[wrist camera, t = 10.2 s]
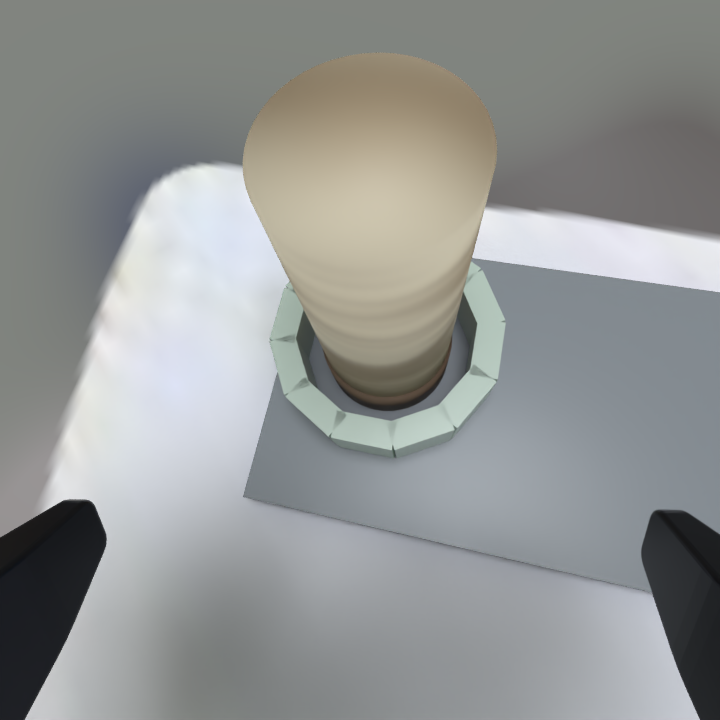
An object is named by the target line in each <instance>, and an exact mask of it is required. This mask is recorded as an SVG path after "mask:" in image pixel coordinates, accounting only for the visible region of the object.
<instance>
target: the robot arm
mask: <svg viewBox="0 0 720 720" xmlns="http://www.w3.org/2000/svg"><path fill="white" fill-rule="evenodd" d="M106 541H107V538H106V532H105V530H104V527H103V525H102V522H101V520H100V517H99V515H98V512H97V510H96V507H95V505H94V504H93V503H92V502H91V501H89V500H76V499H69V500H64V501H62V502H60V503H58V504H57V505H55V506H53V507H52V508H50V509H48V510H46V511H45V512H43V513H41V514H40V515H38V516H36V517H34V518H33V519H31V520H29V521H28V522H26V523H24V524H23V525H21V526H19V527H18V528H16V529H14V530H12V531H10V532H9V533H7V534H6V535H4V536H2V537H0V720H25V718H26V716H27V714H28V712H29V711H30V709H31V707H32V705H33V703H34V701H35V699H36V697H37V695H38V694H39V692H40V690H41V688H42V686H43V684H44V682H45V680H46V678H47V677H48V675H49V673H50V671H51V669H52V667H53V665H54V663H55V661H56V660H57V658H58V656H59V654H60V652H61V650H62V648H63V646H64V644H65V642H66V640H67V638H68V635H69V633H70V631H71V629H72V627H73V624H74V622H75V620H76V617H77V615H78V613H79V610H80V608H81V605H82V603H83V601H84V598H85V596H86V593H87V591H88V589H89V586H90V584H91V582H92V579H93V577H94V574H95V572H96V570H97V567H98V565H99V562H100V560H101V558H102V555H103V553H104V550H105V547H106ZM641 558H642V563H643V567H644V570H645V573H646V576H647V579H648V582H649V585H650V588H651V591H652V594H653V597H654V600H655V603H656V606H657V609H658V612H659V615H660V618H661V621H662V624H663V627H664V630H665V633H666V636H667V639H668V642H669V645H670V648H671V651H672V654H673V657H674V660H675V662H676V665H677V668H678V670H679V673H680V675H681V678H682V680H683V682H684V685H685V687H686V689H687V692H688V694H689V696H690V698H691V701H692V703H693V705H694V707H695V710H696V712H697V714H698V716H699V718H700V720H720V534H719V533H718V532H716V531H715V530H713V529H712V528H710V527H709V526H707V525H706V524H704V523H703V522H701V521H700V520H699V519H697V518H696V517H694V516H693V515H691V514H690V513H688V512H686V511H683V510H667V509H658V510H655V511H653V513H652V514H651V516H650V519H649V522H648V526H647V529H646V533H645V536H644V540H643V543H642V548H641Z"/></svg>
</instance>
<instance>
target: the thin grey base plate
mask: <svg viewBox="0 0 720 720" xmlns="http://www.w3.org/2000/svg"><path fill="white" fill-rule="evenodd" d="M286 287H287V288H284V291H283V294H282V298H281V301H280V305H279V308H278V312H277V315H276V319H275V322H274V325H273V329H272V332H271V336H270V340H271V341H270V345H271V349H272V352H273V356H274V360H275V363H276V367H277V371H278V372H277V376H276V379H275V383H274V387H273V390H272V394H271V398H270V401H269V405H268V408H267V412H266V416H265V419H264V423H263V426H262V430H261V434H260V437H259V441H258V445H257V448H256V452H255V455H254V459H253V463H252V466H251V470H250V473H249V477H248V481H247V484H246V488H245V492H244V495H243V497H246V498H250V499H255V500H259V501H263V502H268V503H272V504H276V505H280V506H285V507H289V508H293V509H297V510H302V511H306V512H310V513H315V514H319V515H323V516H327V517H332V518H336V519H340V520H344V521H349V522H353V523H357V524H361V525H366V526H370V527H374V528H379V529H383V530H387V531H391V532H396V533H400V534H404V535H408V536H413V537H417V538H421V539H426V540H430V541H434V542H438V543H443V544H447V545H451V546H455V547H460V548H464V549H468V550H472V551H477V552H481V553H485V554H490V555H494V556H498V557H502V558H507V559H511V560H515V561H519V562H524V563H528V564H532V565H537V566H541V567H545V568H549V569H554V570H558V571H562V572H566V573H571V574H575V575H579V576H583V577H588V578H592V579H596V580H601V581H605V582H609V583H613V584H618V585H622V586H626V587H630V588H635V589H639V590H643V591H648V592H652V591H651V588H650V585H649V582H648V579H647V576H646V573H645V570H644V567H643V563H642V558H641V548H642V543H643V540H644V536H645V533H646V529H647V526H648V522H649V519H650V516H651V514H652V513H653V511H655V510H658V509H667V510H683V511H686V512H688V513H690V514H691V515H693V516H694V517H696V518H697V519H699V520H700V521H701V522H703V523H704V524H706V525H707V526H709V527H710V528H712V529H713V530H715V531H716V532H718V533H719V534H720V292H713V291H706V290H698V289H691V288H684V287H677V286H669V285H662V284H655V283H648V282H640V281H633V280H626V279H619V278H612V277H604V276H597V275H590V274H583V273H575V272H568V271H561V270H554V269H546V268H539V267H532V266H525V265H518V264H510V263H503V262H496V261H489V260H481V259H474V258H472V259H471V263H470V267H469V271H468V275H467V279H466V283H465V287H464V290H463V294H462V298H461V302H460V306H459V310H458V314H457V318H456V322H455V325H454V329H453V333H452V348H451V352H450V356H449V359H448V363H447V367H446V370H445V373H444V376H443V378H442V380H441V382H440V383H439V385H438V386H437V388H436V389H435V390H434V391H433V392H432V393H431V394H430V395H429V396H428V397H427V398H426V399H424V400H423V401H421V402H420V403H418V404H416V405H414V406H411V407H409V408H406V409H402V410H396V411H380V410H374V409H370V408H367V407H365V406H362V405H360V404H359V403H357V402H355V401H354V400H352V399H351V398H350V397H348V396H347V395H346V394H345V393H344V392H343V391H342V389H341V388H340V387H339V385H338V384H337V382H336V380H335V378H334V376H333V374H332V372H331V370H330V368H329V366H328V364H327V362H326V359H325V357H324V352H323V348H322V346H321V344H320V342H319V340H318V338H317V336H316V334H315V332H314V330H313V328H312V325H311V323H310V321H309V319H308V317H307V315H306V313H305V311H304V309H303V307H302V305H301V303H300V301H299V299H298V297H297V295H296V293H295V291H294V289H293V287H292V285H291V282H289V283H288V284H287V285H286Z"/></svg>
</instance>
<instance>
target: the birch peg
mask: <svg viewBox="0 0 720 720" xmlns="http://www.w3.org/2000/svg"><path fill="white" fill-rule="evenodd" d="M496 144H497V143H496V135H495V131H494V126H493V123H492V120H491V118H490V116H489V113H488V111H487V109H486V108H485V106H484V104H483V103H482V101H481V99H480V98H479V97H478V96H477V95H476V93H475V92H474V91H473V90H472V89H471V88H470V87H469V86H468V85H467V84H466V83H464V81H462V80H461V79H460V78H459V77H457V76H456V75H454V74H453V73H451V72H450V71H448V70H446V69H444V68H442V67H440V66H438V65H436V64H434V63H431V62H428V61H426V60H423V59H420V58H416V57H412V56H407V55H401V54H394V53H364V54H357V55H350V56H345V57H341V58H337V59H334V60H330V61H328V62H325V63H322V64H320V65H317V66H315V67H313V68H311V69H309V70H307V71H305V72H303V73H302V74H300V75H298V76H297V77H295V78H294V79H292V80H290V81H289V82H288V83H287V84H285V85H284V86H283V87H282V88H280V89H279V90H278V91H277V92H276V94H274V95H273V96H272V97H271V98H270V99H269V100H268V102H267V103H266V104H265V105H264V107H263V108H262V109H261V111H260V112H259V114H258V116H257V117H256V119H255V121H254V122H253V124H252V127H251V129H250V131H249V134H248V137H247V140H246V144H245V148H244V155H243V176H244V181H245V186H246V190H247V192H248V195H249V198H250V200H251V203H252V205H253V207H254V209H255V211H256V213H257V215H258V217H259V219H260V221H261V223H262V225H263V227H264V229H265V231H266V233H267V235H268V237H269V239H270V241H271V244H272V246H273V248H274V250H275V252H276V254H277V256H278V258H279V260H280V262H281V264H282V266H283V268H284V270H285V272H286V274H287V276H288V278H289V280H290V282H291V285H292V287H293V289H294V291H295V293H296V295H297V297H298V299H299V301H300V303H301V305H302V307H303V309H304V311H305V313H306V315H307V317H308V319H309V321H310V323H311V325H312V328H313V330H314V332H315V334H316V336H317V338H318V340H319V342H320V344H321V346H322V348H323V352H324V357H325V359H326V362H327V364H328V366H329V368H330V370H331V372H332V374H333V376H334V378H335V380H336V382H337V384H338V385H339V387H340V388H341V389H342V391H343V392H344V393H345V394H346V395H347V396H348V397H350V398H351V399H352V400H354V401H355V402H357V403H359V404H360V405H362V406H365V407H367V408H370V409H374V410H380V411H396V410H402V409H406V408H409V407H411V406H414V405H416V404H418V403H420V402H421V401H423V400H424V399H426V398H427V397H428V396H429V395H430V394H431V393H432V392H433V391H434V390H435V389H436V388H437V386H438V385H439V383H440V382H441V380H442V378H443V376H444V373H445V370H446V367H447V363H448V359H449V356H450V352H451V348H452V333H453V329H454V325H455V322H456V318H457V314H458V310H459V306H460V302H461V298H462V294H463V290H464V287H465V283H466V279H467V275H468V271H469V267H470V263H471V259H472V255H473V252H474V248H475V244H476V240H477V236H478V232H479V228H480V224H481V220H482V217H483V213H484V209H485V205H486V201H487V197H488V193H489V189H490V185H491V182H492V177H493V174H494V170H495V166H496V157H497V145H496Z"/></svg>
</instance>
